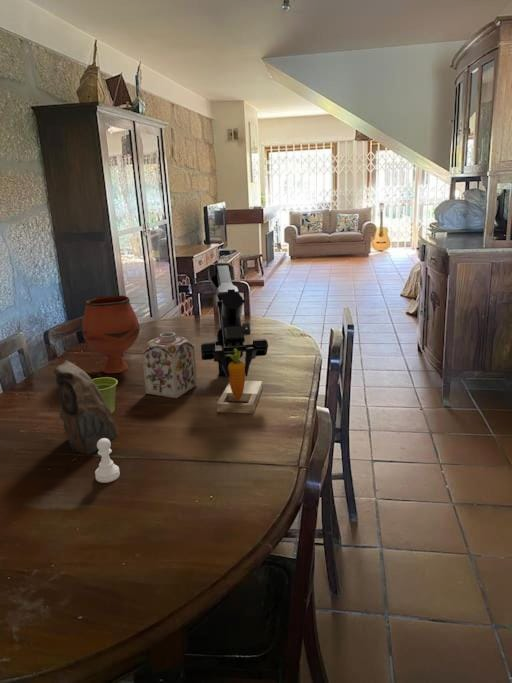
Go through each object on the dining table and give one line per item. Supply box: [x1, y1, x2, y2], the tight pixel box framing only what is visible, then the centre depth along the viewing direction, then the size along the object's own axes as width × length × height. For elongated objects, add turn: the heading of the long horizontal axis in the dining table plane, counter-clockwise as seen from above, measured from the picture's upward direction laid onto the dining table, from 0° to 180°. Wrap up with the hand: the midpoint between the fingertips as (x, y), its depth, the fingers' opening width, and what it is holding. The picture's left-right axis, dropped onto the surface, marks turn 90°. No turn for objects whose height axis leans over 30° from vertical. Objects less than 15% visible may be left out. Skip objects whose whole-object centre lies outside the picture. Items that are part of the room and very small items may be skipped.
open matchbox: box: [216, 380, 263, 414], centre depth 147 cm, size 10×18×2 cm, turn 171°
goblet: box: [81, 294, 141, 374], centre depth 173 cm, size 19×19×25 cm
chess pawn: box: [94, 438, 121, 484], centre depth 108 cm, size 5×5×9 cm
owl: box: [53, 359, 119, 456], centre depth 122 cm, size 13×13×20 cm
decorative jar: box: [141, 331, 198, 399], centre depth 154 cm, size 12×12×18 cm
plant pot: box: [91, 376, 119, 414], centre depth 140 cm, size 9×9×9 cm
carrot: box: [227, 348, 246, 400], centre depth 140 cm, size 5×5×15 cm
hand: (237, 376), depth 139 cm, fingers closed on carrot, 5 cm apart
